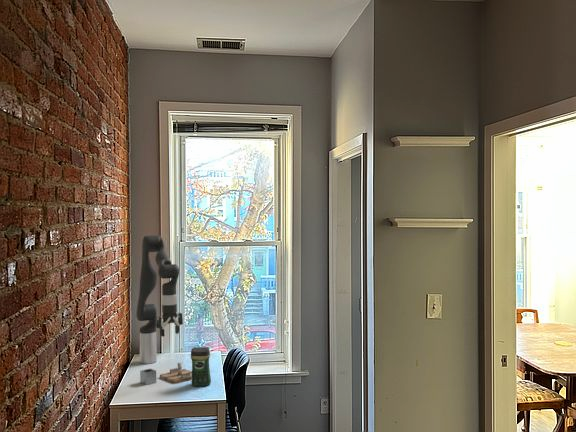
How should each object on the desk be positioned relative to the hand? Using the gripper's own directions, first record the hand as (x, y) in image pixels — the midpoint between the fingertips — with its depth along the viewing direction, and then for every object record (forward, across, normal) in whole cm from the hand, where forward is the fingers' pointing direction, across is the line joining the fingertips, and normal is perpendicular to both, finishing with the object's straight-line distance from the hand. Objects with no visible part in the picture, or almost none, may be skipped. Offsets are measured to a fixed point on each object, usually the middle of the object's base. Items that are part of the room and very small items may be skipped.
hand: (169, 334), depth 291 cm
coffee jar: (+23, -6, +18) cm, 30 cm away
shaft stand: (+23, -6, 0) cm, 24 cm away
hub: (+23, +10, -5) cm, 26 cm away
